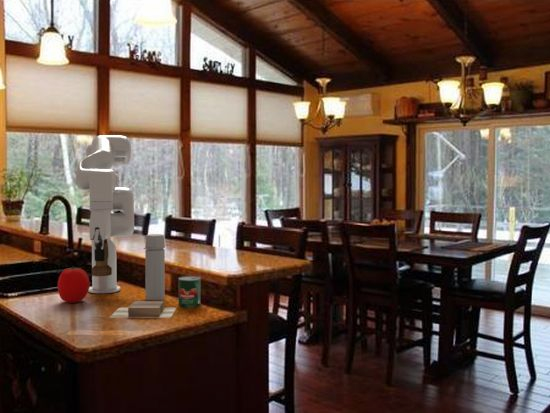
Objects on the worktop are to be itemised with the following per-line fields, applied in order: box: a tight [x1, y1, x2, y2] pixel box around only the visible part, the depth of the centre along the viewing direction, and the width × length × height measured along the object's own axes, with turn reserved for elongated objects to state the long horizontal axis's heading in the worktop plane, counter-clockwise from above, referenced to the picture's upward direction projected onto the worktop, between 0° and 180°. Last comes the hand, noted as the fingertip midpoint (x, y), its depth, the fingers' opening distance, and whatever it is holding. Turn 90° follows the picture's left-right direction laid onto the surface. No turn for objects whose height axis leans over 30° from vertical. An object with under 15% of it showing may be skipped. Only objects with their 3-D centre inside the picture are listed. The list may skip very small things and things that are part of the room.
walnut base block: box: [128, 300, 165, 317], centre depth 190 cm, size 10×10×3 cm
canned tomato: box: [177, 275, 202, 309], centre depth 202 cm, size 8×8×11 cm
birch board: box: [108, 306, 177, 319], centre depth 191 cm, size 14×20×1 cm
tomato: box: [57, 266, 91, 304], centre depth 209 cm, size 12×12×13 cm
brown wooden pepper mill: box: [91, 239, 112, 276], centre depth 192 cm, size 7×6×18 cm
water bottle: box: [143, 233, 166, 301], centre depth 213 cm, size 9×8×25 cm
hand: (101, 259), depth 192 cm, fingers closed on brown wooden pepper mill, 4 cm apart
